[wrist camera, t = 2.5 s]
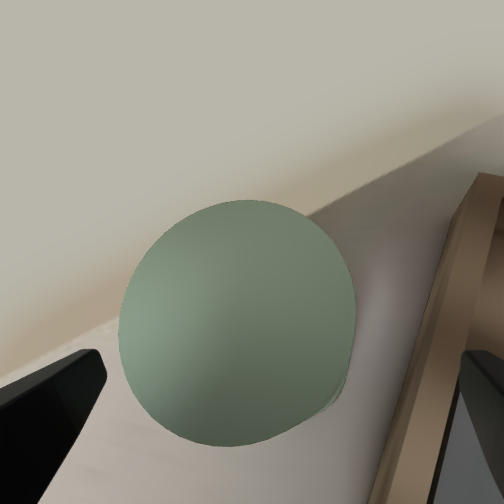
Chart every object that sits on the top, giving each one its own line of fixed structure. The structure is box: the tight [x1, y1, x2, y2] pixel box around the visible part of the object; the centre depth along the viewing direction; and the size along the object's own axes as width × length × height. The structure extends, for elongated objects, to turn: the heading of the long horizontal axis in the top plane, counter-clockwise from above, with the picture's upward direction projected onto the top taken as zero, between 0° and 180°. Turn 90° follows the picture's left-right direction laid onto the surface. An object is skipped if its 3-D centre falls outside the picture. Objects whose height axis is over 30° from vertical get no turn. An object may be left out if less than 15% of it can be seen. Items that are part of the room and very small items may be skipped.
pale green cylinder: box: [118, 200, 356, 447], centre depth 11 cm, size 5×5×11 cm
